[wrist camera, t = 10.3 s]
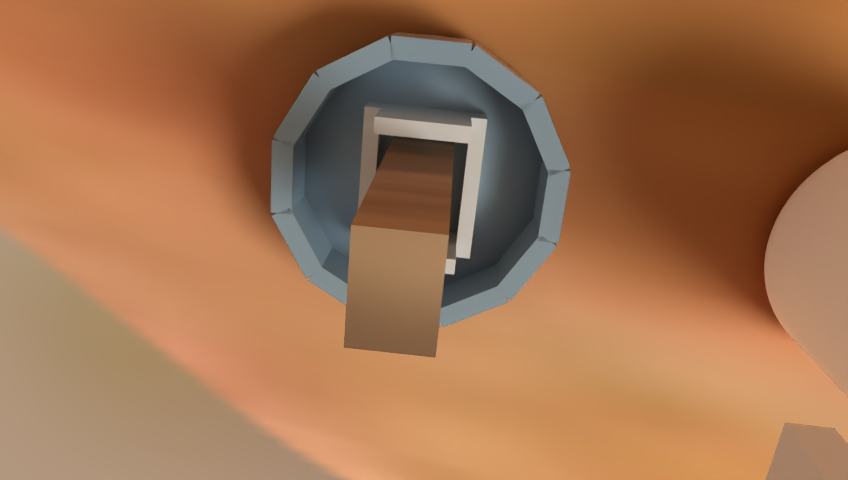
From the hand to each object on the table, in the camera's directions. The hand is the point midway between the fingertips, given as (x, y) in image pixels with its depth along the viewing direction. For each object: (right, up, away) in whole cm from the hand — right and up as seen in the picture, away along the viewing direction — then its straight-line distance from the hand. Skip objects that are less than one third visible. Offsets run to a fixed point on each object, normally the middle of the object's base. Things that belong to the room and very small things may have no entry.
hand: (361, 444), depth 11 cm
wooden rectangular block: (+1, +6, +16) cm, 17 cm away
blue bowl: (+1, +6, +17) cm, 18 cm away
